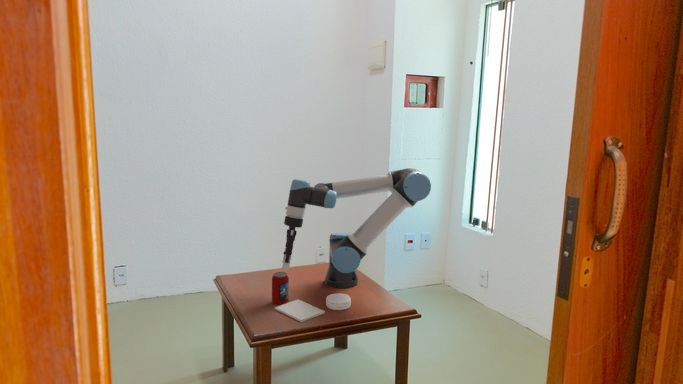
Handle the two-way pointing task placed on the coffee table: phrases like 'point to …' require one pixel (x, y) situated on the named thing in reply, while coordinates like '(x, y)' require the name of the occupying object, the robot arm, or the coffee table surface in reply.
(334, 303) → the coaster
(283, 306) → the mat
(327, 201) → the robot arm
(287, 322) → the coffee table surface
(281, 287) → the beverage can
